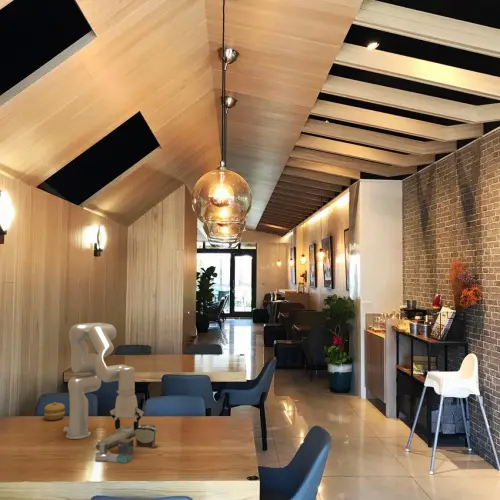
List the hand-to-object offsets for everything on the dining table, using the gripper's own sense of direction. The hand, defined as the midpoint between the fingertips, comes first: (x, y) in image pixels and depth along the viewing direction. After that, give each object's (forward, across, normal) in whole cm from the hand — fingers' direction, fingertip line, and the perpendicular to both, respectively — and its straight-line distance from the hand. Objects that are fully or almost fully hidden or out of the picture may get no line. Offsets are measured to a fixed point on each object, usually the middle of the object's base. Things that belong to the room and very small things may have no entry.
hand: (126, 429), depth 243 cm
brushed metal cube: (+11, -1, 0) cm, 11 cm away
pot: (+10, -72, +44) cm, 85 cm away
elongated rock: (+12, -15, +18) cm, 26 cm away
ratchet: (+12, -2, -10) cm, 15 cm away
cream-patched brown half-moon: (+12, +4, +13) cm, 18 cm away
